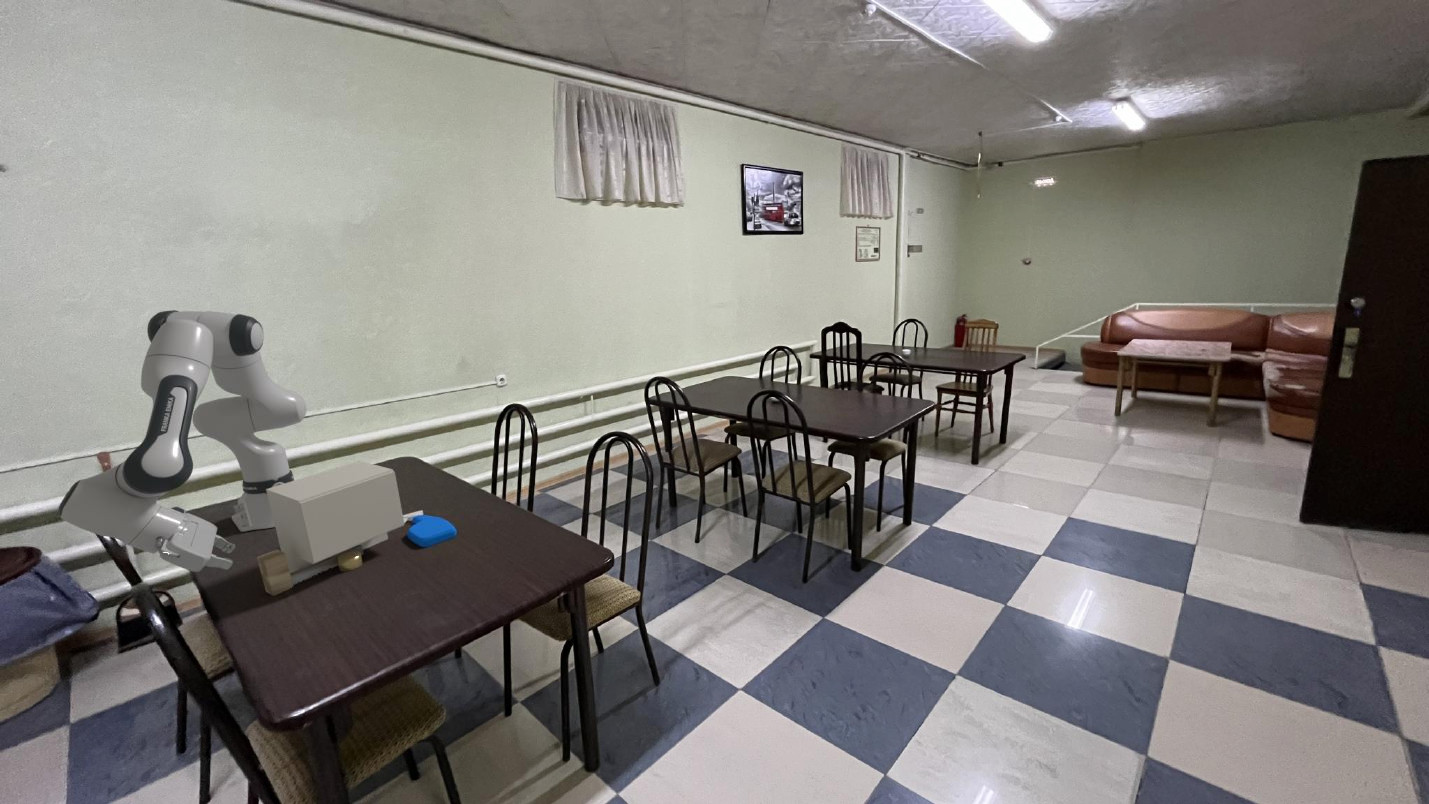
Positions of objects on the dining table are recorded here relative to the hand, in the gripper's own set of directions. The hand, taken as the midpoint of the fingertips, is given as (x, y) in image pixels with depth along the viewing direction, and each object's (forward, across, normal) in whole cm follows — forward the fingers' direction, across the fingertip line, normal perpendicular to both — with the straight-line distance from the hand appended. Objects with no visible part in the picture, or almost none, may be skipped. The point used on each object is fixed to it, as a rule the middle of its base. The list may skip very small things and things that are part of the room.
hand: (232, 557), depth 127 cm
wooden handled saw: (+18, +3, -3) cm, 18 cm away
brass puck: (+23, +1, -7) cm, 24 cm away
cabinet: (+23, +7, -7) cm, 25 cm away
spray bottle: (+37, +12, -20) cm, 43 cm away
